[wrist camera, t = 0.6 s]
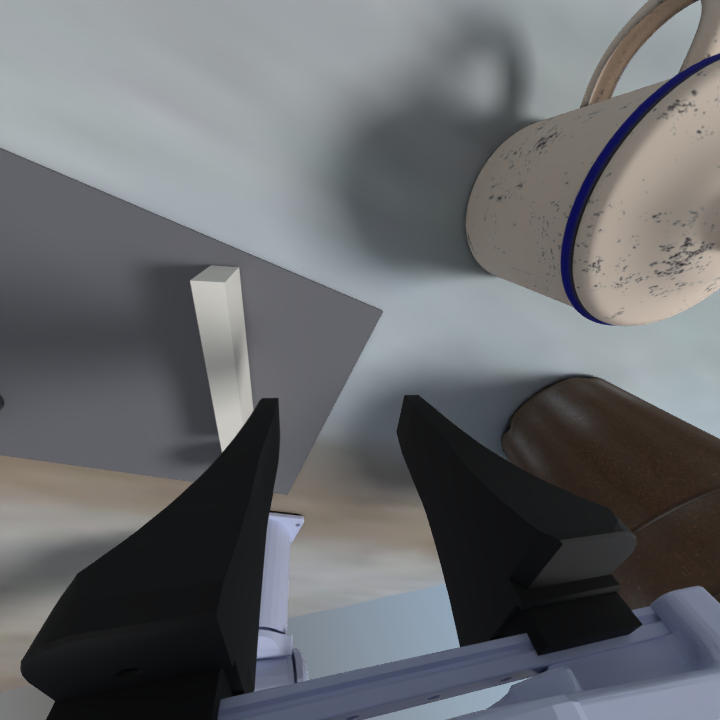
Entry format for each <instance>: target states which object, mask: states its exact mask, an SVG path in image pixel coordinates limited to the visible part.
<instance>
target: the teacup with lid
mask: <svg viewBox="0 0 720 720" xmlns="http://www.w3.org/2000/svg"><path fill="white" fill-rule="evenodd" d="M696 1H698V0H649V1H648V2H647V3H646V4H645V5H644V6H643V7H641V8H640V10H639V11H638V12H637V13H636V14H635V15H634V16H633V17H632V18H631V19H630V20H629V21H628V23H627V24H626V25H625V26H624V27H623V28H622V30H621V31H620V32H619V33H618V35H617V36H616V37H615V39H614V40H613V41H612V43H611V44H610V46H609V47H608V49H607V50H606V52H605V53H604V55H603V56H602V58H601V60H600V62H599V63H598V65H597V67H596V69H595V71H594V73H593V75H592V78H591V80H590V82H589V85H588V87H587V90H586V92H585V95H584V98H583V101H582V103H581V106H580V109H576V110H573V111H570V112H567V113H564V114H561V115H558V116H555V117H552V118H549V119H546V120H543V121H540V122H537V123H534V124H531V125H529V126H527V127H525V128H523V129H521V130H519V131H518V132H516V133H515V134H513V135H512V136H511V137H509V138H508V139H507V140H506V141H505V142H504V143H502V144H501V145H500V146H499V147H498V149H497V150H496V151H495V152H494V153H493V154H492V156H491V157H490V158H489V159H488V161H487V162H486V164H485V165H484V167H483V168H482V170H481V172H480V174H479V175H478V177H477V180H476V182H475V184H474V186H473V189H472V192H471V195H470V198H469V202H468V207H467V213H466V234H467V240H468V244H469V247H470V250H471V252H472V254H473V256H474V258H475V259H476V261H477V262H478V263H479V265H480V266H481V267H482V268H484V269H485V270H486V271H488V272H489V273H491V274H493V275H495V276H498V277H500V278H503V279H505V280H508V281H510V282H513V283H515V284H518V285H520V286H523V287H525V288H528V289H530V290H533V291H535V292H537V293H540V294H542V295H545V296H547V297H550V298H552V299H555V300H557V301H560V302H562V303H565V304H567V305H570V306H572V307H574V308H575V309H576V310H577V311H578V312H579V313H580V314H581V315H582V316H584V317H586V318H587V319H589V320H591V321H594V322H596V323H600V324H604V325H617V326H635V325H644V324H649V323H653V322H657V321H660V320H663V319H666V318H669V317H671V316H674V315H676V314H678V313H681V312H683V311H685V310H686V309H688V308H690V307H692V306H694V305H695V304H697V303H699V302H700V301H702V300H704V299H705V298H707V297H708V296H709V295H711V294H712V293H714V292H715V291H716V290H718V289H719V288H720V0H701V3H702V13H701V18H700V22H699V26H698V29H697V31H696V34H695V37H694V39H693V42H692V44H691V46H690V49H689V51H688V53H687V55H686V58H685V60H684V62H683V64H682V67H681V69H680V71H679V73H678V74H677V75H676V76H675V77H673V78H672V79H669V80H666V81H663V82H659V83H656V84H653V85H650V86H647V87H644V88H641V89H638V90H635V91H632V92H629V93H626V94H623V95H619V96H616V97H613V98H611V97H612V95H613V92H614V90H615V88H616V85H617V83H618V81H619V79H620V77H621V75H622V73H623V72H624V70H625V68H626V67H627V65H628V64H629V62H630V61H631V59H632V58H633V56H634V55H635V54H636V53H637V51H638V50H639V49H640V48H641V46H642V45H643V44H644V43H645V42H646V41H647V40H648V39H649V38H650V37H651V36H652V35H653V34H654V33H655V32H656V31H657V30H658V29H659V28H660V27H661V26H662V25H663V24H665V23H666V22H667V21H668V20H669V19H671V18H672V17H673V16H674V15H676V14H677V13H678V12H680V11H681V10H683V9H684V8H686V7H688V6H689V5H691V4H693V3H694V2H696Z"/></svg>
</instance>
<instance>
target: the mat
mask: <svg viewBox="0 0 720 720" xmlns="http://www.w3.org/2000/svg"><path fill="white" fill-rule="evenodd" d="M211 265H215V266H230V267H239V271H240V281H241V291H242V301H243V311H244V321H245V331H246V341H247V351H248V361H249V371H250V381H251V391H252V400H253V410H254V409H255V407H256V406H257V404H258V402H259V401H260V400H261V399H262V398H279V419H280V450H279V462H278V468H277V474H276V479H275V485H274V491H273V493H277V494H285V495H287V494H288V492H289V490H290V488H291V486H292V484H293V482H294V481H295V479H296V477H297V475H298V473H299V471H300V469H301V467H302V465H303V463H304V461H305V460H306V458H307V456H308V454H309V452H310V450H311V448H312V446H313V444H314V442H315V440H316V439H317V437H318V435H319V433H320V431H321V429H322V427H323V425H324V423H325V421H326V419H327V418H328V416H329V414H330V412H331V410H332V408H333V406H334V404H335V402H336V400H337V399H338V397H339V395H340V393H341V391H342V389H343V387H344V385H345V383H346V381H347V379H348V378H349V376H350V374H351V372H352V370H353V368H354V366H355V364H356V362H357V360H358V358H359V357H360V355H361V353H362V351H363V349H364V347H365V345H366V343H367V341H368V339H369V338H370V336H371V334H372V332H373V330H374V328H375V326H376V324H377V322H378V320H379V318H380V317H381V315H382V313H383V311H382V310H380V309H378V308H375V307H373V306H371V305H368V304H366V303H364V302H361V301H359V300H357V299H354V298H352V297H350V296H347V295H345V294H343V293H340V292H338V291H335V290H333V289H331V288H328V287H326V286H324V285H321V284H319V283H317V282H314V281H312V280H310V279H307V278H305V277H303V276H300V275H298V274H296V273H293V272H291V271H288V270H286V269H284V268H281V267H279V266H277V265H274V264H272V263H270V262H267V261H265V260H263V259H260V258H258V257H256V256H253V255H251V254H249V253H246V252H244V251H241V250H239V249H237V248H234V247H232V246H230V245H227V244H225V243H223V242H220V241H218V240H216V239H213V238H211V237H209V236H206V235H204V234H202V233H199V232H197V231H194V230H192V229H190V228H187V227H185V226H183V225H180V224H178V223H176V222H173V221H171V220H169V219H166V218H164V217H162V216H159V215H157V214H155V213H152V212H150V211H147V210H145V209H143V208H140V207H138V206H136V205H133V204H131V203H129V202H126V201H124V200H122V199H119V198H117V197H115V196H112V195H110V194H108V193H105V192H103V191H100V190H98V189H96V188H93V187H91V186H89V185H86V184H84V183H82V182H79V181H77V180H75V179H72V178H70V177H68V176H65V175H63V174H61V173H58V172H56V171H54V170H51V169H49V168H46V167H44V166H42V165H39V164H37V163H35V162H32V161H30V160H28V159H25V158H23V157H21V156H18V155H16V154H14V153H11V152H9V151H7V150H4V149H2V148H0V395H1V396H2V397H3V399H4V407H3V408H2V409H1V410H0V455H3V456H11V457H18V458H25V459H32V460H39V461H47V462H54V463H61V464H68V465H75V466H83V467H90V468H97V469H104V470H112V471H119V472H126V473H133V474H140V475H148V476H155V477H162V478H169V479H176V480H184V481H191V482H195V481H196V480H197V479H198V478H199V477H200V476H201V475H202V474H203V473H204V472H205V471H206V470H207V469H208V468H209V467H210V466H211V464H212V463H213V462H214V461H215V460H216V459H217V458H218V457H219V456H220V454H221V453H222V450H221V445H220V440H219V434H218V429H217V424H216V418H215V413H214V407H213V402H212V397H211V391H210V386H209V380H208V375H207V370H206V364H205V359H204V354H203V348H202V343H201V337H200V332H199V327H198V321H197V316H196V310H195V305H194V300H193V294H192V289H191V284H190V280H191V279H193V278H194V277H196V276H197V275H198V274H200V273H201V272H202V271H204V270H205V269H207V268H208V267H209V266H211Z"/></svg>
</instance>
